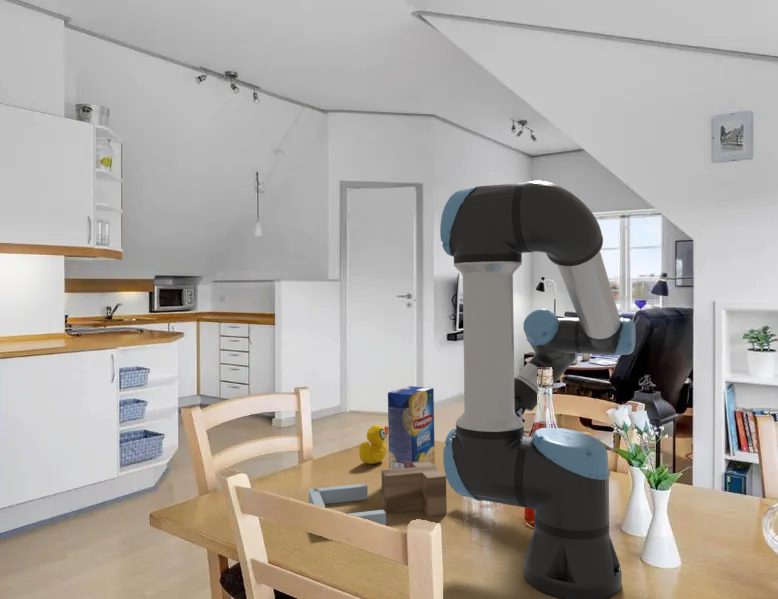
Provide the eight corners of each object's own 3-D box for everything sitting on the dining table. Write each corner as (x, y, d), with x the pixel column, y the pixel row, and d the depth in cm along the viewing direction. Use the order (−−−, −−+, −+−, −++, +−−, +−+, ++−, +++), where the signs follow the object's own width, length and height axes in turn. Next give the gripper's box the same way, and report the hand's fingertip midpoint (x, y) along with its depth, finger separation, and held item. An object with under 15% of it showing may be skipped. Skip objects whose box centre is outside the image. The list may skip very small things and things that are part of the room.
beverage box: (435, 474, 154) (433, 388, 153) (413, 486, 144) (411, 395, 144) (411, 470, 157) (410, 386, 157) (389, 482, 148) (387, 392, 148)
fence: (386, 528, 120) (385, 513, 120) (320, 536, 116) (320, 520, 116) (365, 496, 138) (365, 483, 138) (308, 502, 135) (308, 489, 135)
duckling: (380, 456, 171) (379, 420, 171) (395, 459, 168) (394, 423, 168) (354, 465, 162) (353, 428, 162) (369, 469, 159) (369, 431, 159)
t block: (446, 514, 127) (446, 476, 126) (391, 520, 124) (390, 481, 123) (428, 495, 138) (428, 460, 138) (377, 500, 135) (377, 465, 135)
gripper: (554, 404, 132) (484, 487, 129) (526, 393, 145) (462, 469, 141) (531, 381, 131) (460, 465, 127) (505, 373, 144) (440, 449, 140)
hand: (461, 467), depth 134 cm, fingers closed
